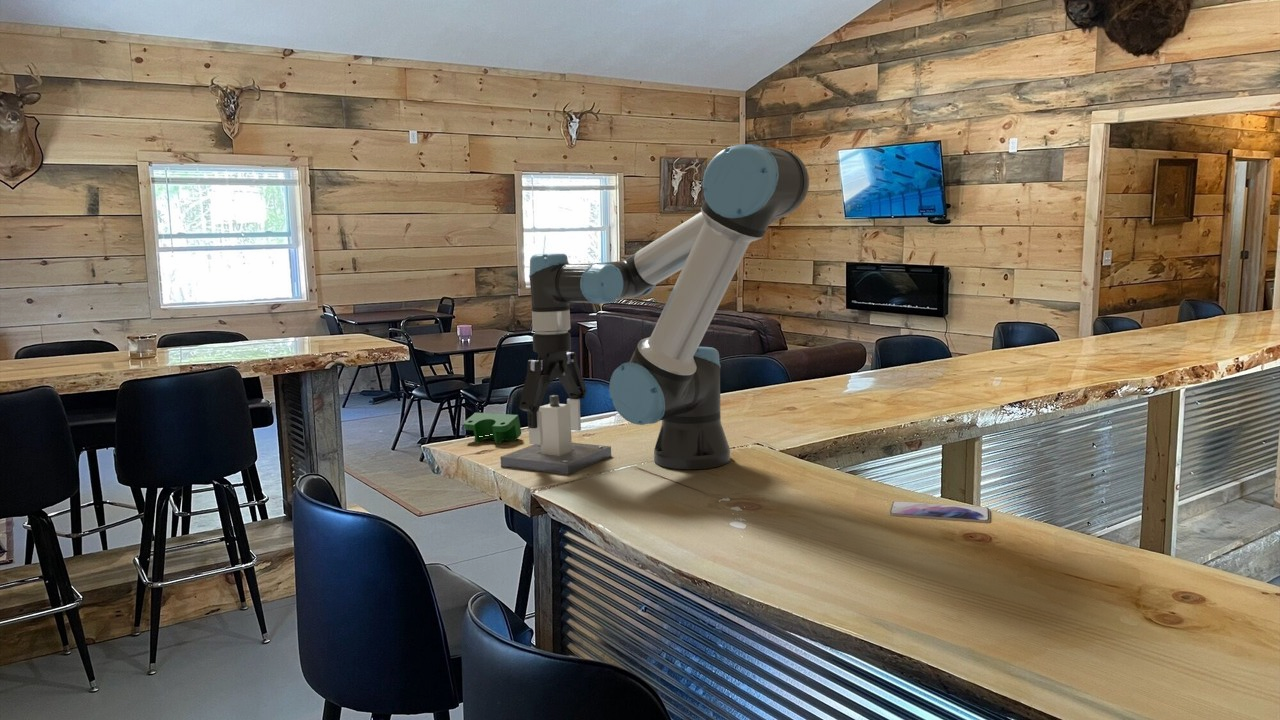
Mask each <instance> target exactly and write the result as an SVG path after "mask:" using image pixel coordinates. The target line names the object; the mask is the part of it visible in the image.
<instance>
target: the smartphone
mask: <svg viewBox="0 0 1280 720" xmlns="http://www.w3.org/2000/svg"><path fill="white" fill-rule="evenodd" d="M888 515H889V516H891V517H901V518H902V517H903V518H914V519H915V518H916V519H927V520H943V521H953V522H955V521H956V522H968V523H980V524H981V523H982V524H990V523H991V511H990V508H989V507H986V506H973V505H959V504H944V503H943V504H941V503H929V502H917V501H898V500H896V501H895V500H894V501H892V503H891V506H890V510H889V513H888Z"/></svg>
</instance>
